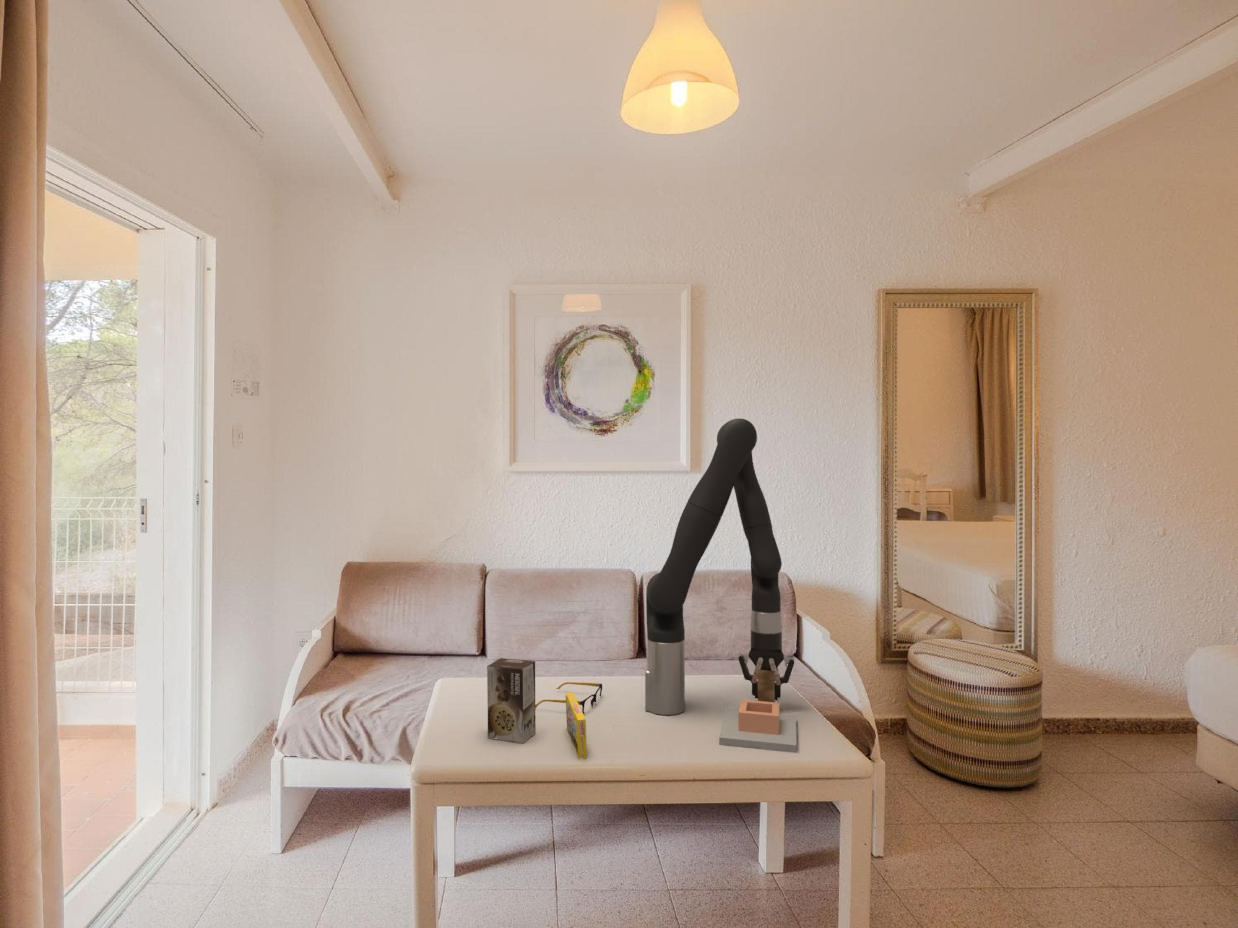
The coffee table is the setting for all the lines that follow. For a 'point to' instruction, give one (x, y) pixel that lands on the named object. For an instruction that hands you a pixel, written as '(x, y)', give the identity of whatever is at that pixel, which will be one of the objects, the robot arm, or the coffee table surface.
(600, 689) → the eyeglasses
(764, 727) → the socket block
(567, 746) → the coffee table surface
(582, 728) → the candy box
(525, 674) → the coffee box
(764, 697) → the walnut peg
